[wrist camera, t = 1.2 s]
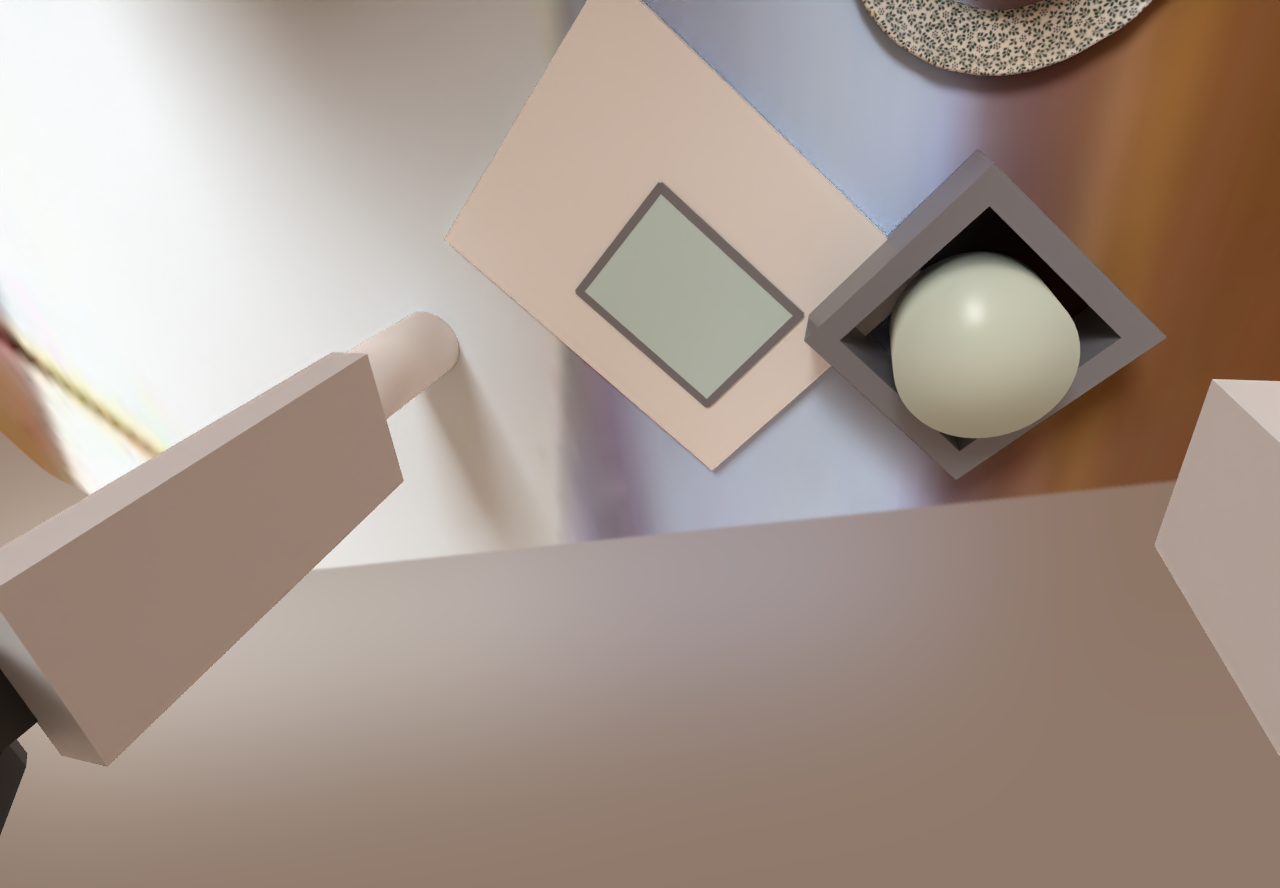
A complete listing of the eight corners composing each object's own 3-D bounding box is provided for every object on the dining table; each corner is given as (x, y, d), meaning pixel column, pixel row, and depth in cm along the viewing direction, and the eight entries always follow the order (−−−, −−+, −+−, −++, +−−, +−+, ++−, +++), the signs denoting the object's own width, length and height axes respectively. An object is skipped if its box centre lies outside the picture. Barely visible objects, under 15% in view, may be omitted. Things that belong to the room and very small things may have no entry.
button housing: (809, 310, 32) (804, 340, 28) (977, 149, 27) (994, 162, 24) (945, 436, 33) (955, 480, 30) (1130, 303, 28) (1166, 337, 25)
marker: (387, 343, 39) (234, 439, 29) (416, 295, 37) (261, 381, 27) (441, 387, 40) (306, 495, 30) (472, 342, 38) (339, 443, 28)
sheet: (450, 236, 35) (442, 239, 34) (610, -30, 27) (605, -32, 27) (714, 465, 37) (711, 471, 37) (928, 275, 30) (929, 280, 29)
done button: (858, 327, 29) (857, 363, 26) (980, 218, 26) (998, 243, 23) (956, 420, 30) (969, 466, 27) (1087, 324, 27) (1120, 363, 23)
